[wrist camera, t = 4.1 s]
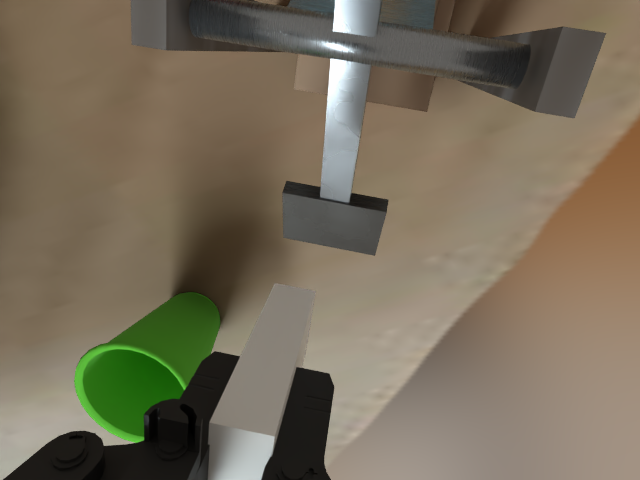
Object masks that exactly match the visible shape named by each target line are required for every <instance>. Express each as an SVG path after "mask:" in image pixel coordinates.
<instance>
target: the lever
mask: <svg viewBox="0 0 640 480" xmlns="http://www.w3.org/2000/svg"><path fill="white" fill-rule="evenodd" d="M435 1H436V0H290V2H289V4H288V6H287V7H285V6H279V5H272V4H266V3H260V2H253V1H247V0H191V1H190V6H189V25H190V29H191V32H192V34H193V35H194V36H195V37H198V38H204V39H210V40H216V41H222V42H229V43H235V44H241V45H247V46H253V47H259V48H265V49H272V50H278V51H284V52H290V53H296V54H302V55H308V56H314V57H321V58H327V59H331V62H330V75H329V88H328V101H327V113H326V126H325V139H324V152H323V165H322V178H321V187H317V186H311V185H306V184H301V183H295V182H290V181H286V184H285V187H284V190H283V235H284V238H288V239H293V240H298V241H303V242H308V243H313V244H318V245H323V246H328V247H334V248H339V249H344V250H349V251H354V252H359V253H364V254H369V255H374V256H375V253H376V249H377V246H378V242H379V238H380V234H381V231H382V227H383V223H384V220H385V216H386V212H387V205H388V200H387V199H381V198H376V197H370V196H365V195H360V194H354V193H352V187H353V181H354V175H355V168H356V162H357V156H358V150H359V144H360V138H361V131H362V125H363V119H364V113H365V107H366V100H367V94H368V88H369V82H370V76H371V69H372V66H376V67H382V68H388V69H394V70H400V71H406V72H412V73H419V74H425V75H431V76H437V77H443V78H449V79H455V80H461V81H468V82H474V83H480V84H486V85H492V86H498V87H504V88H510V89H517V88H518V87H519V86H520V84H521V82H522V80H523V78H524V76H525V73H526V71H527V68H528V64H529V60H530V55H531V46H530V45H529V44H524V43H517V42H511V41H504V40H498V39H491V38H485V37H479V36H472V35H466V34H459V33H453V32H446V31H440V30H433V21H434V11H435Z"/></svg>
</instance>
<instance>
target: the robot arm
mask: <svg viewBox="0 0 640 480" xmlns="http://www.w3.org/2000/svg"><path fill="white" fill-rule="evenodd" d="M315 293H316V291H313V290H308V289H303V288H298V287H293V286H288V285H283V284H277V283H275V284H274V286H273V288H272V290H271V292H270V294H269V296H268V298H267V301H266V303H265V305H264V307H263V309H262V311H261V313H260V315H259V318H258V320H257V322H256V324H255V326H254V328H253V330H252V333H251V335H250V337H249V339H248V341H247V343H246V345H245V347H244V350H243V352H242V354H241V356H235V355H230V354H225V353H221V352H216V351H215V352H213V353H212V354H210V355H209V356H208V357H206V358H205V359H204V360H202V361H201V363H200V365H199V366H198V368H197V370H196V372H195V374H194V376H193V377H192V378H191V380H190V382H189V384H188V386H187V387H186V389H185V390H184V392H183V394H182V395H181V397H180V399H168V400H164V401H160V402H159V403H157V404H155V405H153V406H151V407H150V408H149V409H148V410H147V411H146V412H145V413H144V440H143V441H140V442H138V443H133V444H127V445H113V446H104V445H103V442H102V439H101V438H100V437H98V436H97V435H96V434H95V433H91V432H87V431H73V432H69V433H66V434H63V435H60V436H58V437H57V438H55V439H53V440H52V441H50V442H49V443H47V444H46V445H45V446H44V447H42V448H41V449H40V450H39V451H37V452H36V453H35V454H34V455H33V456H31V457H30V458H29V459H28V460H27V461H25V462H24V463H23V464H22V465H20V466H19V467H18V468H17V469H16V470H14V471H13V472H12V473H11V474H9V475H8V476H7V477H6V478H5V479H3V480H331V479H330V477H329V476H328V474H327V472H326V469H325V465H324V455H325V448H326V441H327V434H328V427H329V420H330V413H331V406H332V400H333V393H334V385H333V382H332V380H331V377H330V374H328V373H323V372H319V371H314V370H309V369H304V368H302V365H303V361H304V357H305V353H306V348H307V342H308V336H309V330H310V323H311V317H312V311H313V305H314V299H315Z"/></svg>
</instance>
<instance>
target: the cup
mask: <svg viewBox="0 0 640 480" xmlns="http://www.w3.org/2000/svg"><path fill="white" fill-rule="evenodd" d="M219 327H220V315H219V311H218V309H217V307H216V306H215V304H214V303H213V302H212V301H211V300H210V299H208V298H207V297H206V296H204V295H201V294H199V293H195V292H187V293H181V294H178V295H176V296H174V297H172V298H171V299H170V300H168V301H167V302H165V303H164V304H162V305H161V306H160V307H158V308H157V309H155V310H154V311H152V312H151V313H150V314H148V315H147V316H145V317H144V318H142V319H141V320H139V321H138V322H137V323H135V324H134V325H132V326H131V327H129V328H128V329H127V330H125V331H124V332H122V333H121V334H119V335H118V336H117V337H115V338H114V339H112V340H111V341H109V342H108V343H105V344H100V345H98V346H96V347H94V348H92V349H90V350H89V351H88V352H87V353H86V354H85V355H84V356H82V357H81V359H80V361H79V363H78V365H77V367H76V372H75V380H74V382H75V388H76V393H77V396H78V398H79V400H80V402H81V405H82V406H83V407H84V409H85V410H86V412H87V413H88V414H89V416H90V417H91V418H92V419H93V420H95V421H96V422H97V423H98V424H99V425H100V426H101V427H103V428H104V429H106V430H107V431H109V432H110V433H112V434H114V435H116V436H118V437H120V438H122V439H124V440H128V441H131V442H135V443H138V442H140V441H143V440H144V413H145V412H146V411H147V410H148V409H149V408H150V407H151V406H153V405H155V404H157V403H159V402H160V401H164V400H168V399H180V397H181V395H182V394H183V392H184V390H185V389H186V387H187V386H188V384H189V382H190V380H191V378H192V377H193V376H194V374H195V372H196V370H197V368H198V366H199V365H200V363H201V361H202V360H204V359H205V358H206V357H208V356H209V355H210V354H211V351H212V348H213V345H214V342H215V340H216V337H217V334H218V331H219Z"/></svg>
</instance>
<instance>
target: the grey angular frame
mask: <svg viewBox="0 0 640 480" xmlns="http://www.w3.org/2000/svg"><path fill="white" fill-rule="evenodd" d="M190 1H191V0H131V30H132V45H137V46H143V47H149V48H155V49H161V50H181V51H251V52H284V51H278V50H272V49H265V48H259V47H253V46H247V45H241V44H235V43H229V42H222V41H216V40H210V39H204V38H198V37H195V36H194V35H193V34H192V32H191V29H190V25H189V6H190ZM247 1H253V2H257V1H254V0H247ZM454 4H455V0H436V1H435V11H434V21H433V30H440V31H446V32H448V29H449V25H450V21H451V17H452V13H453V8H454ZM605 35H606V33H601V32H595V31H588V30H582V29H575V28H568V27H558V28H552V29H545V30H539V31H532V32H526V33H520V34H513V35H507V36H500V37H494V38H491V39H498V40H504V41H511V42H517V43H524V44H529V45H530V46H531V55H530V60H529V64H528V68H527V71H526V73H525V76H524V78H523V80H522V82H521V84H520V86H519V87H518V88H517V89H510V88H504V87H498V86H492V85H486V84H480V83H474V82H468V81H461V80H458V81H460V82H463V83H465V84H468V85H470V86H473V87H475V88H478V89H480V90H483V91H485V92H488V93H490V94H493V95H495V96H497V97H500V98H502V99H505V100H507V101H510V102H512V103H515V104H517V105H520V106H522V107H525V108H527V109H529V110H532V111H534V112H540V113H546V114H552V115H558V116H564V117H570V118H575V116H576V113H577V110H578V107H579V105H580V102H581V99H582V97H583V94H584V91H585V89H586V86H587V83H588V80H589V78H590V75H591V72H592V70H593V67H594V64H595V62H596V59H597V56H598V53H599V51H600V48H601V45H602V43H603V40H604V37H605ZM295 54H296V53H295ZM330 62H331V59H327V58H321V57H314V56H308V55H302V54H298V60H297V68H296V77H295V85H294V89H296V90H302V91H307V92H313V93H319V94H325V95H328V88H329V75H330ZM436 77H437V76H436ZM434 80H435V76H431V75H425V74H419V73H412V72H406V71H400V70H394V69H388V68H382V67H376V66H372V69H371V76H370V82H369V88H368V94H367V100H366V102H372V103H378V104H384V105H390V106H396V107H402V108H408V109H414V110H419V111H425V112H427V110H428V106H429V101H430V97H431V93H432V89H433V84H434Z"/></svg>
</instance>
